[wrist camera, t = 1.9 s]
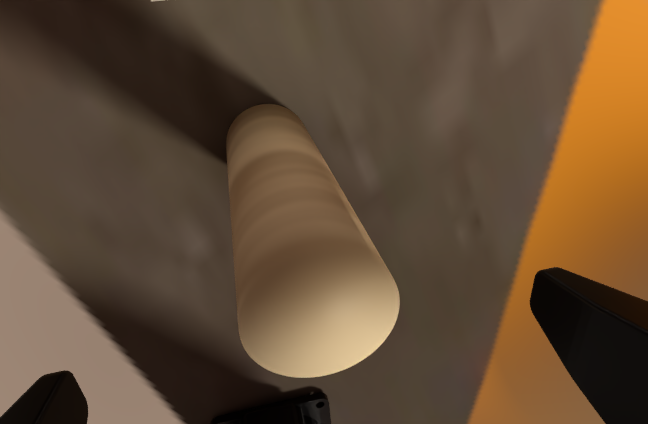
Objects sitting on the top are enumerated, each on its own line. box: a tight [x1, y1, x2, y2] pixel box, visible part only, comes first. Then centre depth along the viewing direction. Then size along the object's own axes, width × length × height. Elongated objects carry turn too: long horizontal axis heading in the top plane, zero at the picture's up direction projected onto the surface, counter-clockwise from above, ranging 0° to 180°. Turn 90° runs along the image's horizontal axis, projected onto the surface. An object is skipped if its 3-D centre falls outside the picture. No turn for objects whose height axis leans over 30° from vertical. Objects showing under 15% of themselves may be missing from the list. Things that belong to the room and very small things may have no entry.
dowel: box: [226, 104, 400, 378], centre depth 13 cm, size 3×3×10 cm
